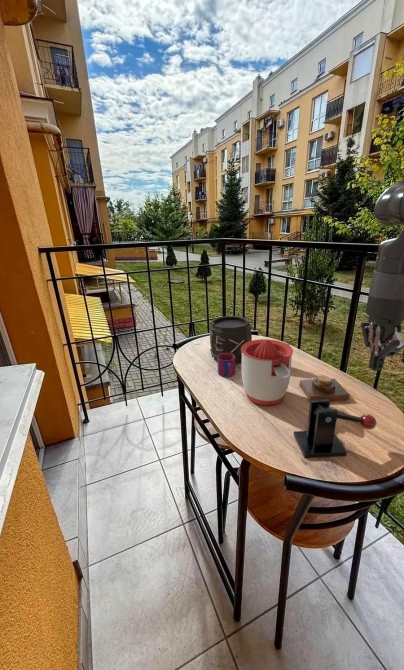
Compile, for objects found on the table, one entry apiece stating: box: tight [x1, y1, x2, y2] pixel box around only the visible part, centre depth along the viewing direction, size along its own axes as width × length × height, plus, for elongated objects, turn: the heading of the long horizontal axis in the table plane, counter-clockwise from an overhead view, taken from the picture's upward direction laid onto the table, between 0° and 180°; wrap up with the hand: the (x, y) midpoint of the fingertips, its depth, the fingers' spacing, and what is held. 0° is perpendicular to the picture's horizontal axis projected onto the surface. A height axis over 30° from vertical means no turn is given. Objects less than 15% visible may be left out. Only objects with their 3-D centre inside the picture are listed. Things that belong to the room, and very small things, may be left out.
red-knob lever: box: [314, 404, 377, 430], centre depth 68 cm, size 15×4×4 cm, turn 91°
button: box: [317, 374, 332, 386], centre depth 91 cm, size 4×4×2 cm
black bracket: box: [293, 399, 348, 459], centre depth 68 cm, size 10×8×12 cm
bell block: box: [299, 376, 350, 402], centre depth 91 cm, size 12×10×4 cm
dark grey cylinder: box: [208, 315, 253, 365], centre depth 118 cm, size 18×18×16 cm
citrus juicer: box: [241, 338, 294, 406], centre depth 87 cm, size 16×17×20 cm
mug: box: [216, 353, 236, 378], centre depth 105 cm, size 7×10×7 cm
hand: (374, 368), depth 63 cm, fingers closed
